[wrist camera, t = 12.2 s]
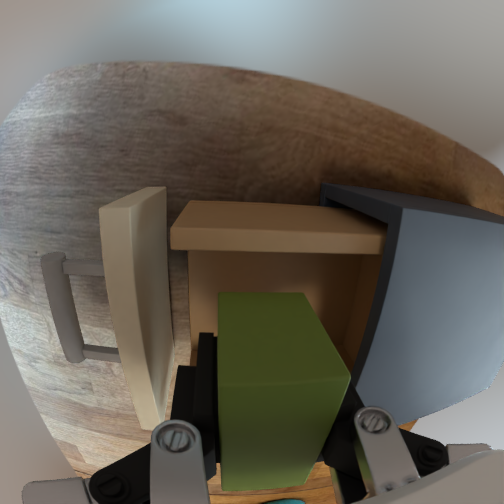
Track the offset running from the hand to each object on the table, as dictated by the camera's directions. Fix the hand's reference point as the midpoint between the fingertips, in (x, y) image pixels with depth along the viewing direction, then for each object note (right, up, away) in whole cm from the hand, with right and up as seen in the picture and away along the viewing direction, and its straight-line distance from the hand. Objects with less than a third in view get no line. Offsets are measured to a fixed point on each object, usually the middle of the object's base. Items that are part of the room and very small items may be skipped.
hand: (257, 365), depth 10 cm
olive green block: (0, 0, 0) cm, 0 cm away
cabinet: (+11, +2, +9) cm, 14 cm away
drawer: (-2, +2, +7) cm, 7 cm away
